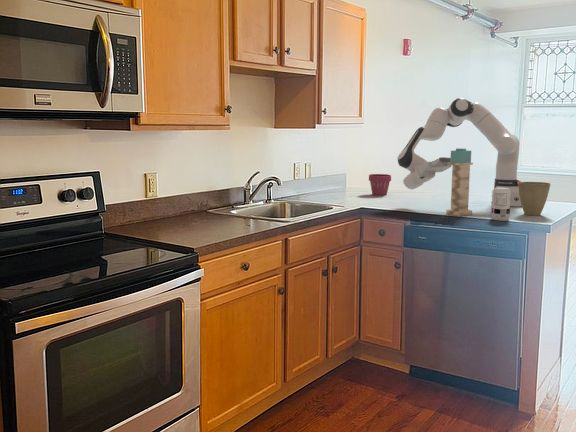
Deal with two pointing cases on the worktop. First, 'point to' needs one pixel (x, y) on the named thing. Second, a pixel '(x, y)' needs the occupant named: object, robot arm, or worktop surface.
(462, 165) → the birch stand
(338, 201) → the worktop surface
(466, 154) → the teal cap handle
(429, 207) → the worktop surface
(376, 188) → the plant pot
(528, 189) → the plant pot
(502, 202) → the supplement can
